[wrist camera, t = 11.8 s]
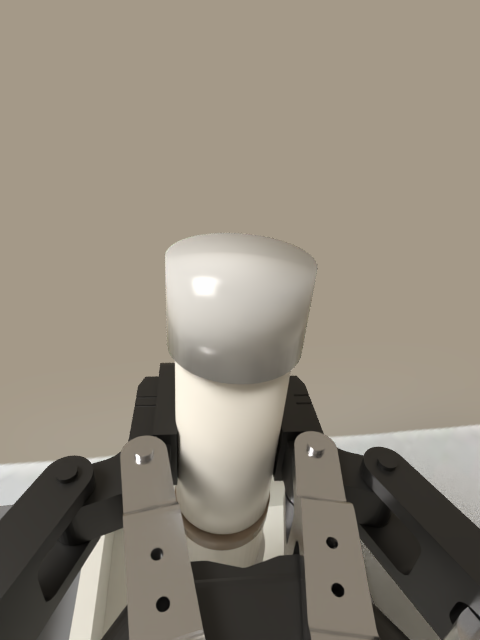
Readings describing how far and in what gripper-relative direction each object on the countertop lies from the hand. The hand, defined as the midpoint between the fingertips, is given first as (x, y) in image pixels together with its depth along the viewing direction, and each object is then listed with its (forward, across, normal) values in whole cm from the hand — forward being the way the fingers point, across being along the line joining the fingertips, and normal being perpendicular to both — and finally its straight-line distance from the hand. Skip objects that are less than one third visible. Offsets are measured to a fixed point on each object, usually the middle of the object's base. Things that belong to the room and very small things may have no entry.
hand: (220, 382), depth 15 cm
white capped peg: (-3, 0, +8) cm, 8 cm away
